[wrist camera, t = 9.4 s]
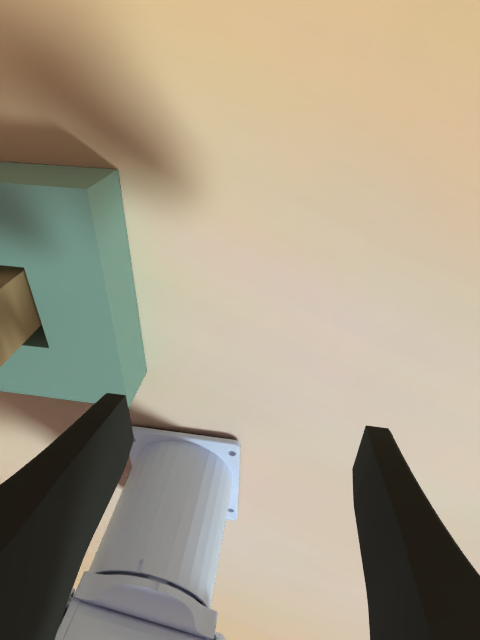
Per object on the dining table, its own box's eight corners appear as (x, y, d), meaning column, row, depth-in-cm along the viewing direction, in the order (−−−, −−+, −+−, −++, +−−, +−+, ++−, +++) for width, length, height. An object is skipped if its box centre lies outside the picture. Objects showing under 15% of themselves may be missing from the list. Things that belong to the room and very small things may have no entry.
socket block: (146, 371, 24) (128, 407, 22) (-33, 350, 26) (-69, 382, 23) (117, 169, 18) (86, 189, 15) (-125, 153, 19) (-190, 169, 16)
